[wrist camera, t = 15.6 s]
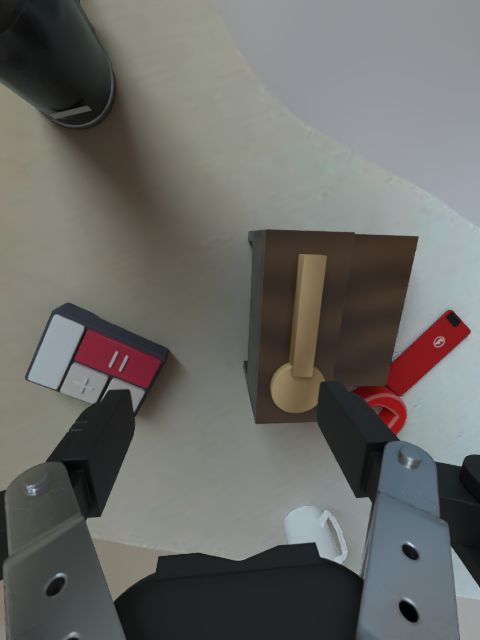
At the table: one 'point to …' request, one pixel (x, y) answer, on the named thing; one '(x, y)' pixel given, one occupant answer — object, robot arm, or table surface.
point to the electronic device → (426, 352)
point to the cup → (315, 531)
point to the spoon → (302, 341)
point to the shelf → (326, 309)
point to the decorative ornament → (385, 405)
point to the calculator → (94, 358)
